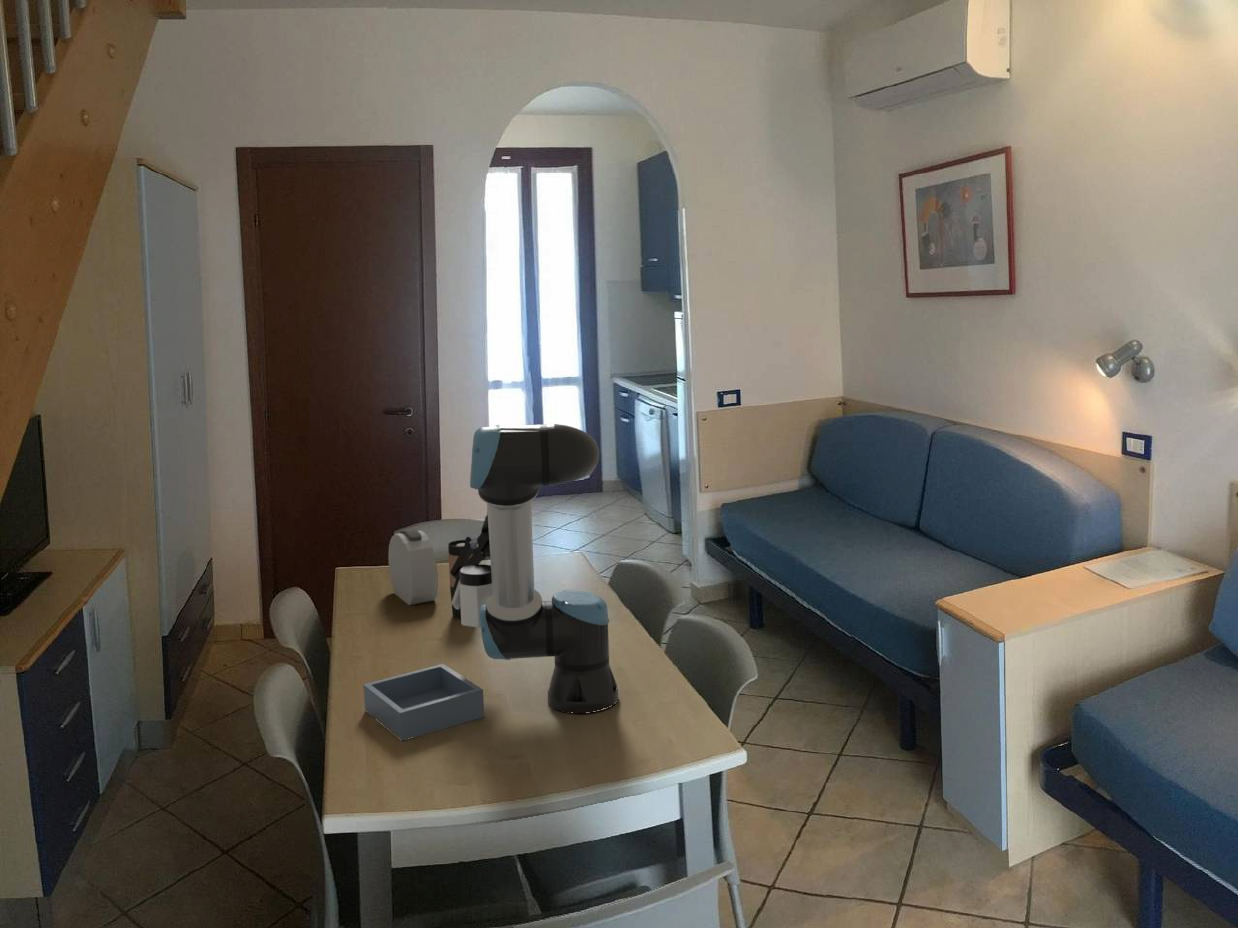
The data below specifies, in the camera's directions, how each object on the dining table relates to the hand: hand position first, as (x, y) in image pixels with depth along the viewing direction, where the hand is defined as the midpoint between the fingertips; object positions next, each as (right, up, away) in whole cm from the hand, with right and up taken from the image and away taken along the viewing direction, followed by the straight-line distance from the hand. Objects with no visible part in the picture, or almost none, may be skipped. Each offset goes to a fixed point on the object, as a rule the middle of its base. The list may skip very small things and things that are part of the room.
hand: (473, 607), depth 224 cm
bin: (-9, -21, -10) cm, 25 cm away
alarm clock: (-27, -7, +70) cm, 75 cm away
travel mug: (-10, -10, +53) cm, 55 cm away
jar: (+1, -4, +4) cm, 6 cm away
